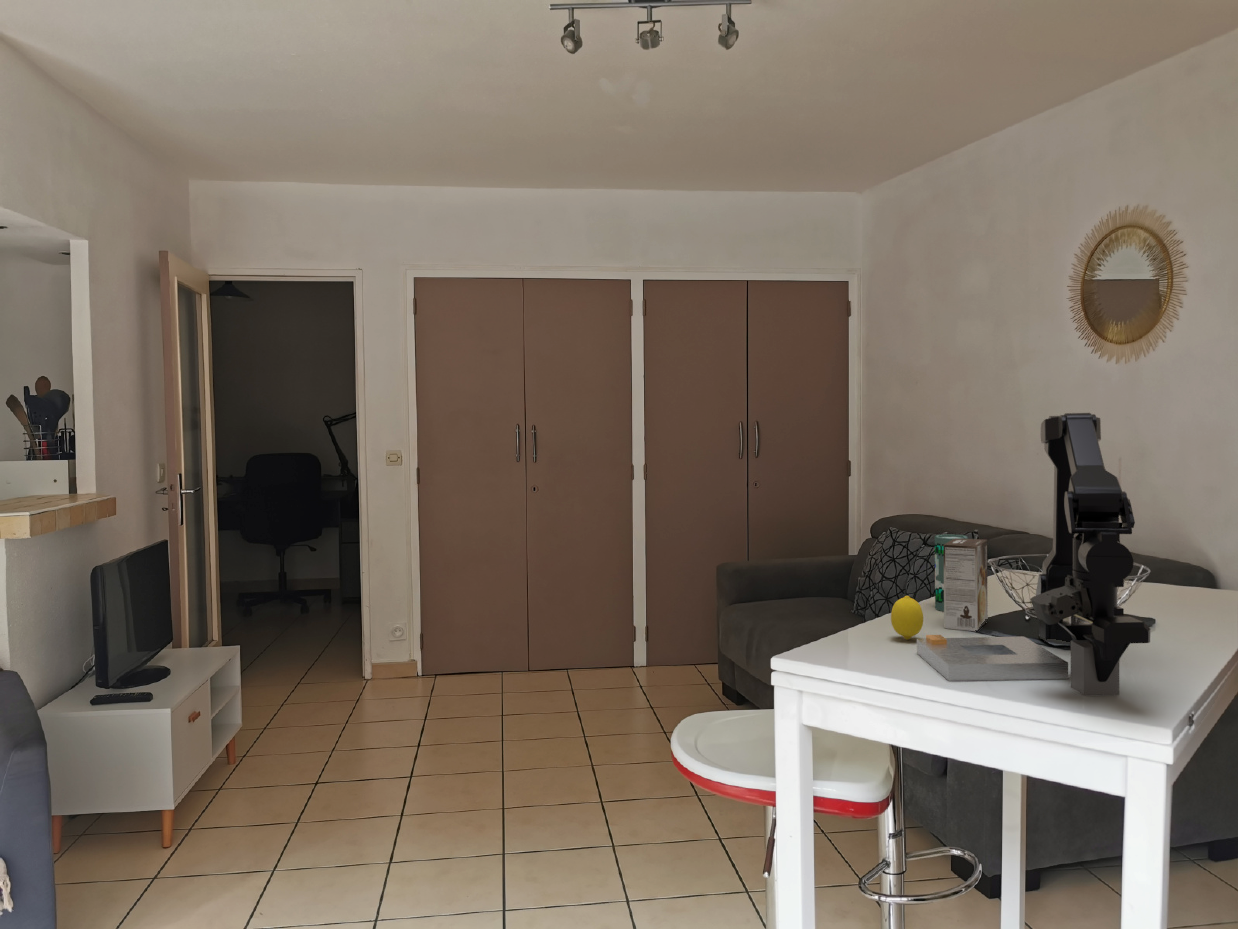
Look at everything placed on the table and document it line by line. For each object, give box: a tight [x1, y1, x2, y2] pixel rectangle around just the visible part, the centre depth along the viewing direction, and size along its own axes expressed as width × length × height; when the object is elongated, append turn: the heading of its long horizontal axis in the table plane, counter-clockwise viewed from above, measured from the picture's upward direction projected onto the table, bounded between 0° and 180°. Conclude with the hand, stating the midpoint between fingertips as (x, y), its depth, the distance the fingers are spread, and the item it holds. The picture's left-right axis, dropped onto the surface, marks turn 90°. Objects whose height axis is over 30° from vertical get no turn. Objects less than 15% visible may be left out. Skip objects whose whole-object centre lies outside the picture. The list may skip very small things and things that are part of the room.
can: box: [934, 534, 969, 613], centre depth 186 cm, size 6×6×15 cm
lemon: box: [890, 595, 924, 641], centre depth 163 cm, size 6×6×8 cm
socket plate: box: [916, 634, 1069, 682], centre depth 146 cm, size 18×16×3 cm
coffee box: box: [943, 538, 989, 632], centre depth 172 cm, size 9×6×16 cm
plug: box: [1070, 640, 1120, 697], centre depth 132 cm, size 5×4×7 cm
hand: (1094, 677), depth 132 cm, fingers closed on plug, 4 cm apart
